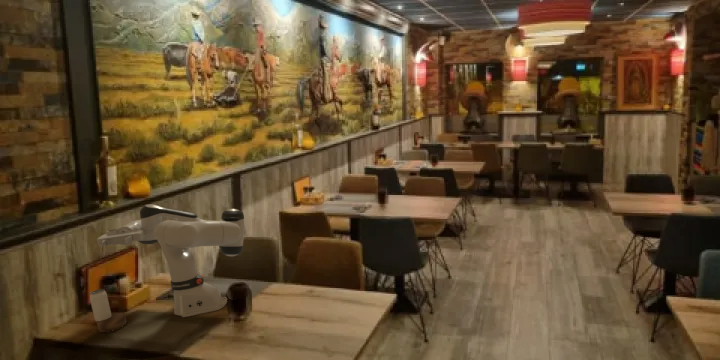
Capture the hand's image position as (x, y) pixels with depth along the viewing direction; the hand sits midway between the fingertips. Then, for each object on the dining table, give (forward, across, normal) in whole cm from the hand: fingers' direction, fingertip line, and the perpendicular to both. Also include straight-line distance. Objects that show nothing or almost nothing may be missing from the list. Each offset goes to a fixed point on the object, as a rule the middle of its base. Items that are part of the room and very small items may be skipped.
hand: (113, 242), depth 251 cm
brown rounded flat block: (+17, 0, -32) cm, 36 cm away
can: (+17, +3, -28) cm, 33 cm away
